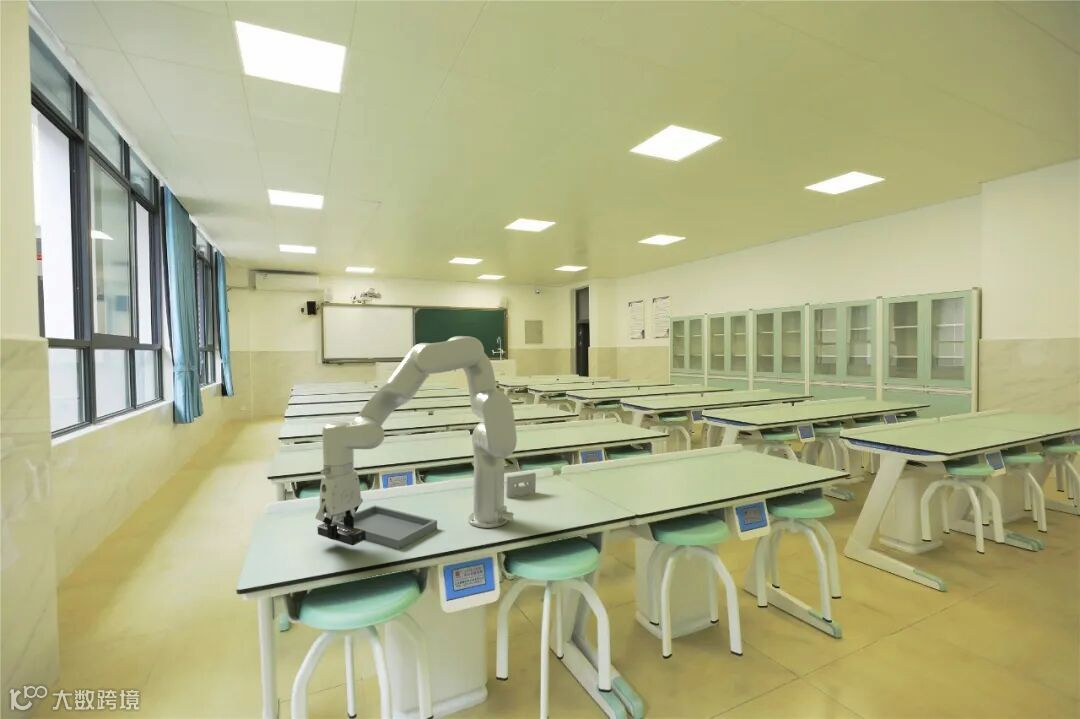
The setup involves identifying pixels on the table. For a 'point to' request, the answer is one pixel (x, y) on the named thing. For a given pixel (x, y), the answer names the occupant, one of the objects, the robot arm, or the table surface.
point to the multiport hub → (345, 533)
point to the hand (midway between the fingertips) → (341, 534)
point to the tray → (392, 526)
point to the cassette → (515, 489)
